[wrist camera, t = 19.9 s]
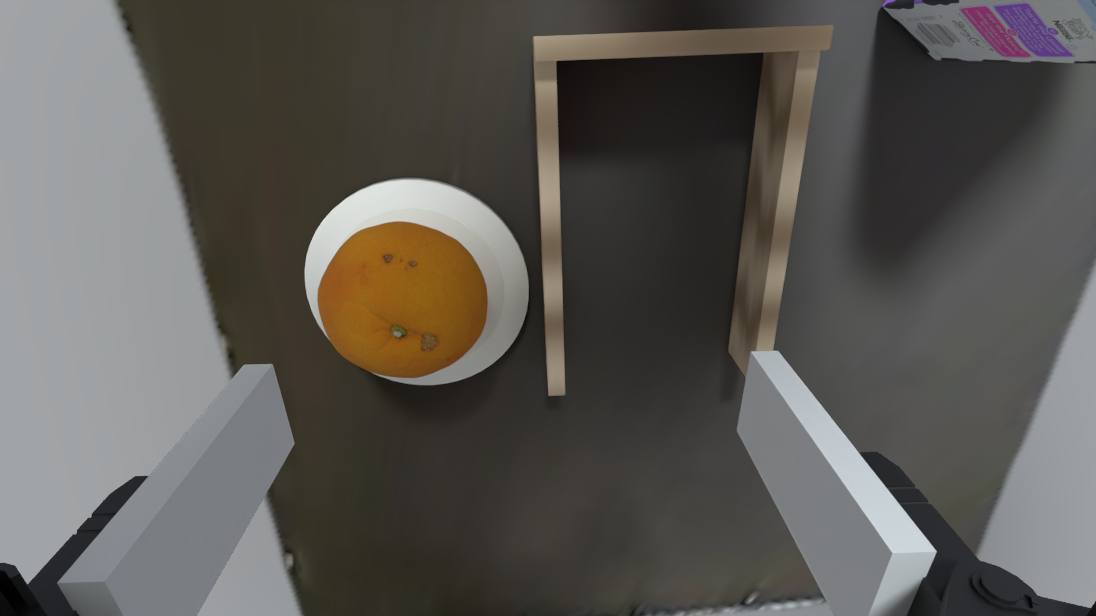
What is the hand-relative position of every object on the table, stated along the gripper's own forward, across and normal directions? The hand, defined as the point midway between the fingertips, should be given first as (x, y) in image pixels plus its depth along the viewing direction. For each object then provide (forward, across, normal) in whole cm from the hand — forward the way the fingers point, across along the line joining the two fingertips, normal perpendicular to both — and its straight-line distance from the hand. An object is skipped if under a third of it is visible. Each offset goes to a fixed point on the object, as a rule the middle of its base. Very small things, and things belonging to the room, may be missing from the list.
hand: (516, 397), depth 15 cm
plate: (+25, -8, -8) cm, 27 cm away
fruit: (+24, -8, -6) cm, 26 cm away
